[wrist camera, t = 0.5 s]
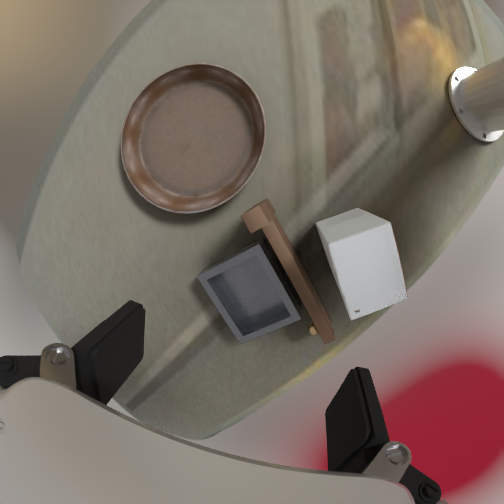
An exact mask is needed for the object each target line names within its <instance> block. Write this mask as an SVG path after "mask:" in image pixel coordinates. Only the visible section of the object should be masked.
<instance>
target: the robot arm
mask: <svg viewBox="0 0 504 504" xmlns="http://www.w3.org/2000/svg"><path fill="white" fill-rule="evenodd" d="M448 89H449V97H450V101H451V104H452V107H453V110H454V112H455V114H456V116H457V118H458V119H459V121H460V123H461V124H462V125H463V127H464V128H465V129H466V130H467V131H468V132H469V133H470V134H471V135H472V136H473V137H475V138H476V139H478V140H480V141H483V142H492V141H496V140H498V139H499V138H500V137H501V135H502V133H503V131H504V57H503V58H501V59H499V60H497V61H495V62H493V63H491V64H489V65H487V66H485V67H483V68H481V69H479V70H476V69H473V68H471V67H461V68H459V69H457V70H455V71H454V72H453V73H452V75H451V76H450V79H449V85H448ZM144 328H145V309H143V306H142V304H139V303H137V302H134V301H132V300H130V301H128V302H127V303H126V304H125V305H123V306H122V307H121V308H120V309H118V310H117V311H116V312H115V313H114V314H112V315H111V316H110V317H109V318H107V319H106V320H104V321H103V322H101V323H100V324H99V325H98V326H97V327H95V328H94V329H93V330H92V331H91V332H89V333H88V334H87V335H86V336H85V337H84V338H82V339H81V340H80V341H79V342H78V343H76V344H75V345H74V346H73V347H72V348H70V347H69V346H67V345H65V344H61V343H53V344H50V345H48V346H46V347H45V348H44V349H43V350H42V353H41V355H40V356H2V357H0V504H448V503H447V502H446V501H445V500H442V501H441V500H440V497H441V489H440V487H439V485H438V484H437V483H436V482H435V481H433V480H432V479H430V478H429V477H427V476H426V475H424V474H423V473H422V472H420V471H419V470H417V469H416V468H414V467H413V466H412V465H410V462H411V453H410V451H409V449H408V448H407V447H406V446H405V445H404V444H402V443H400V442H396V441H394V442H393V441H392V442H390V441H389V436H388V433H387V429H386V425H385V421H384V417H383V414H382V410H381V407H380V403H379V401H378V397H377V394H376V391H375V387H374V384H373V381H372V377H371V374H370V371H369V369H366V368H361V367H356V368H355V369H351V370H350V372H349V373H348V375H347V377H346V378H345V380H344V382H343V384H342V385H341V387H340V389H339V390H338V392H337V393H336V395H335V397H334V398H333V400H332V401H331V403H330V404H329V406H328V408H327V409H326V413H325V417H326V433H327V453H328V471H323V470H313V469H306V468H297V467H290V466H284V465H278V464H273V463H267V462H262V461H258V460H253V459H248V458H244V457H240V456H236V455H232V454H228V453H224V452H221V451H217V450H214V449H211V448H208V447H204V446H201V445H198V444H195V443H192V442H189V441H186V440H184V439H181V438H178V437H175V436H173V435H170V434H168V433H165V432H163V431H160V430H158V429H155V428H153V427H150V426H148V425H146V424H144V423H141V422H139V421H137V420H135V419H133V418H131V417H128V416H126V415H124V414H122V413H120V412H118V411H116V410H114V409H112V408H110V407H108V406H106V405H107V403H108V402H109V401H110V399H111V398H112V397H113V396H114V394H115V393H116V392H117V391H118V389H119V388H120V387H121V385H122V384H123V383H124V382H125V380H126V379H127V378H128V377H129V375H130V374H131V373H132V372H133V370H134V369H135V368H136V367H137V365H138V364H139V363H140V362H141V360H142V358H143V353H144Z"/></svg>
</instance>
